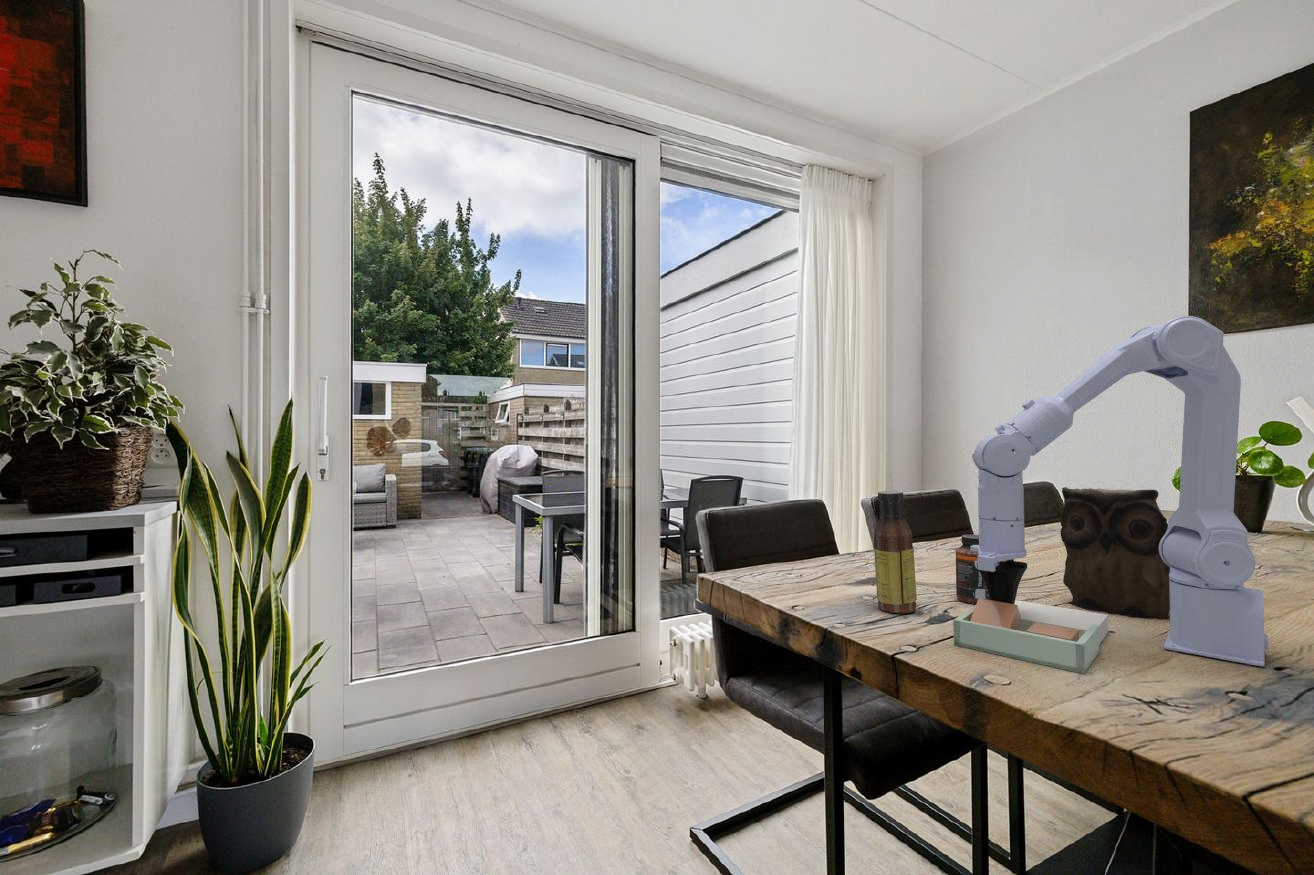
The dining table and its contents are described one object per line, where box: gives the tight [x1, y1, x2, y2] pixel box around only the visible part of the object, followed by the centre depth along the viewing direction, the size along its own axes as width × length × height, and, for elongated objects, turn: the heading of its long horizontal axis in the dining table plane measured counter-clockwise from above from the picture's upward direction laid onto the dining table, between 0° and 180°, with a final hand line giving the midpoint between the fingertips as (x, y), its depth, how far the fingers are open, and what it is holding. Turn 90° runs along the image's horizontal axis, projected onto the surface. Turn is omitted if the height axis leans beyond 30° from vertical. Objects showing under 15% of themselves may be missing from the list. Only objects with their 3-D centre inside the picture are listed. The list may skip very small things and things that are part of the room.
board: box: [1014, 599, 1109, 645], centre depth 89 cm, size 14×10×2 cm
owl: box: [1059, 486, 1170, 620], centre depth 98 cm, size 13×13×20 cm
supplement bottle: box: [955, 534, 990, 605], centre depth 105 cm, size 6×6×11 cm
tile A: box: [1026, 622, 1079, 642], centre depth 80 cm, size 5×5×2 cm
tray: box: [952, 605, 1100, 675], centre depth 82 cm, size 15×10×4 cm, turn 45°
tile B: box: [970, 598, 1021, 630], centre depth 84 cm, size 5×5×2 cm
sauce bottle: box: [873, 490, 918, 615], centre depth 101 cm, size 6×6×20 cm
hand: (1002, 612), depth 86 cm, fingers closed
